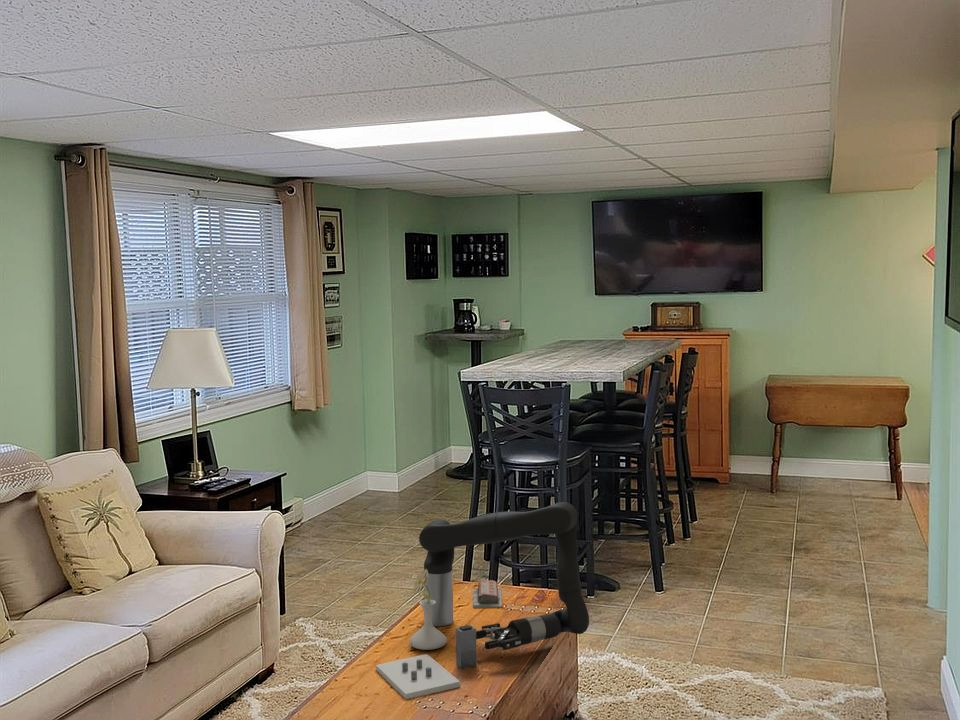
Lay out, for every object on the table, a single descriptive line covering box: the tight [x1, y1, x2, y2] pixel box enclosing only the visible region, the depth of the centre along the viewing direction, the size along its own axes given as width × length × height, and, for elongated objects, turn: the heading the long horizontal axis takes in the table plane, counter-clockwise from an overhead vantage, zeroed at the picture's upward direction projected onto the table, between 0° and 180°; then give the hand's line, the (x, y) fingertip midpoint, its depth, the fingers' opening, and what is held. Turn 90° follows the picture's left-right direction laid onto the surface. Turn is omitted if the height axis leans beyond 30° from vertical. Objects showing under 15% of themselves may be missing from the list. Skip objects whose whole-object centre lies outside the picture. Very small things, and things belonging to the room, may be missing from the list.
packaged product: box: [472, 579, 503, 609], centre depth 329 cm, size 18×5×10 cm
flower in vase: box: [409, 568, 448, 651], centre depth 286 cm, size 13×11×25 cm
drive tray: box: [375, 653, 461, 700], centre depth 264 cm, size 22×16×4 cm
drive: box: [455, 624, 478, 670], centre depth 272 cm, size 3×5×12 cm, turn 117°
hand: (478, 640), depth 274 cm, fingers open, 8 cm apart
